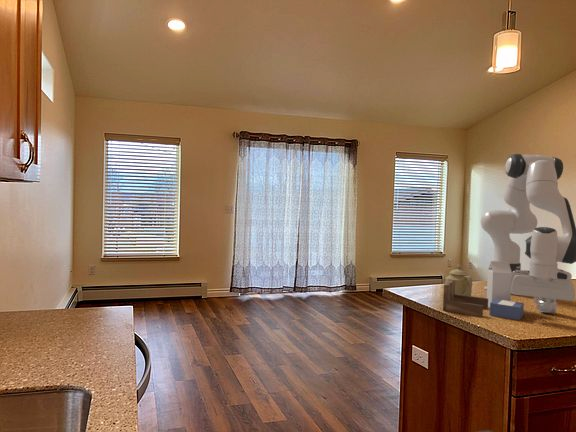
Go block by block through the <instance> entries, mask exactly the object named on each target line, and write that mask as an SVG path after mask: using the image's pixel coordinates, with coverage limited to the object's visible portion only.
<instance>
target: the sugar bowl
mask: <svg viewBox="0 0 576 432" xmlns="http://www.w3.org/2000/svg"><path fill="white" fill-rule="evenodd" d="M461 268H462V265H461V264H460V263H458V264H457V265H456V269H452V270H451V271H449V272H448V273H449V275H447V276H445V284H446V283H448V282H449V281H451V280H455V294H458V295H466V296H472V291H473V290H472V289H473V288H472V287H473V278H472V277H471V275H470V273H468V272H467V271H466V270H463V269H461ZM445 284H444V285H445Z"/></svg>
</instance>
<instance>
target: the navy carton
mask: <svg viewBox="0 0 576 432" xmlns="http://www.w3.org/2000/svg"><path fill="white" fill-rule="evenodd" d="M524 308H525V303H524V302H519V301H513V300H511V301H507V300H499V299H495V300H494V301H492V302H491V303H490V307H489V316H490V315H491V316H492V317H496V316H498V318H502V317H503V318H504V319H508V318H509V319H508V320H514V319H515V321H520V320H521V319H522V318H523V317H524V313H525V312H524V311H525V309H524ZM521 317H522V318H521ZM503 318H502V319H503Z"/></svg>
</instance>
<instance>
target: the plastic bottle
mask: <svg viewBox="0 0 576 432" xmlns="http://www.w3.org/2000/svg"><path fill="white" fill-rule="evenodd" d="M545 300H546V298H541V297H538V300H537V301H538V303H539V304H543V305H544V304H545V303H546V302H547V301H545ZM538 311H539V312H541V313H544V314H555V313H556V312H557V311H558V303H557V299H550V302H549V303H548V305H547V306H546V310H538Z"/></svg>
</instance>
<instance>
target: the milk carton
mask: <svg viewBox="0 0 576 432" xmlns="http://www.w3.org/2000/svg"><path fill="white" fill-rule="evenodd" d="M509 264H510V262H501V261H494V260H491V261H490V264H489V266H488V269H487V282H486V283H487V285H486V286H487V289H486V298H488V308H490V303H491V302H492V301H494V300H495V299H499V300H507V301H512V300H511V299H512V294H511V284H512V280H511V273H512V271H511V268H510V265H509Z"/></svg>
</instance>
